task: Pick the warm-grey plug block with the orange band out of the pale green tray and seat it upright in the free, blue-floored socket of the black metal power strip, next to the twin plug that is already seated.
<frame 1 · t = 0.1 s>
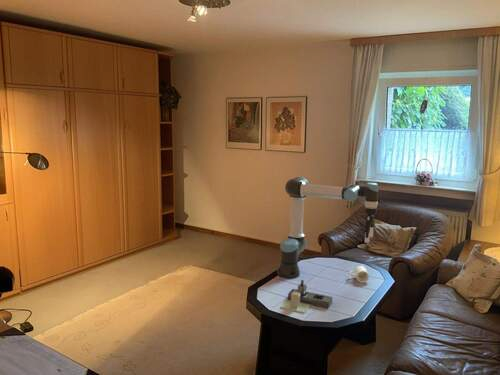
hand: (368, 239, 261), 28 cm above the table, fingers open, 13 cm apart
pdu: (309, 301, 234), on the table
plug: (295, 306, 226), resting on tray
tray: (295, 307, 226), on the table
mug: (357, 279, 268), on the table
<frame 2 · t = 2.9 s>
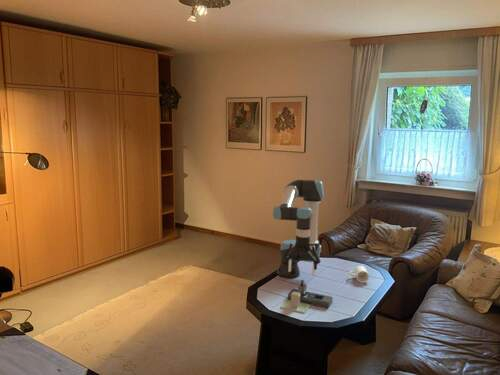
hand: (301, 273, 225), 20 cm above the table, fingers open, 13 cm apart
nothing on the table moved.
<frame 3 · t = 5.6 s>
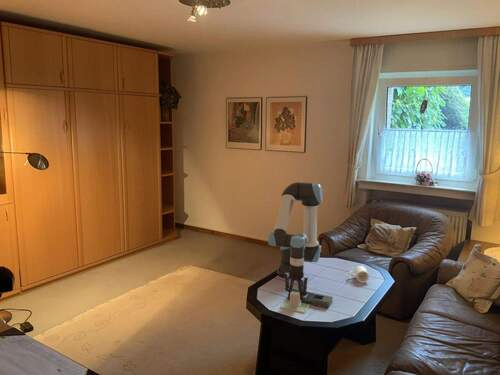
hand: (295, 304, 226), 2 cm above the table, fingers closed on plug, 4 cm apart
plug: (295, 306, 226), resting on tray, touching gripper
everything else where it was.
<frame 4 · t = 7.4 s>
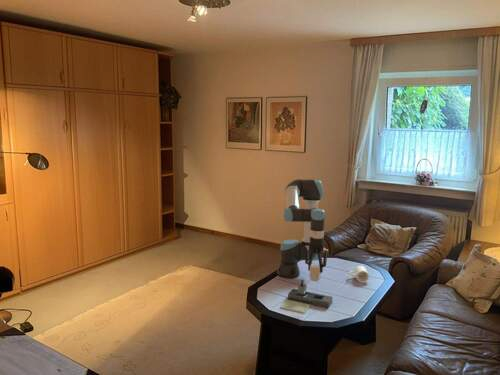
hand: (315, 276, 228), 16 cm above the table, fingers closed on plug, 4 cm apart
plug: (314, 279, 229), point 15 cm above the table, touching gripper
everything else where it was.
when the fingers open (5 cm above the table, at t = 9.3 s): plug drops 2 cm, resting on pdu.
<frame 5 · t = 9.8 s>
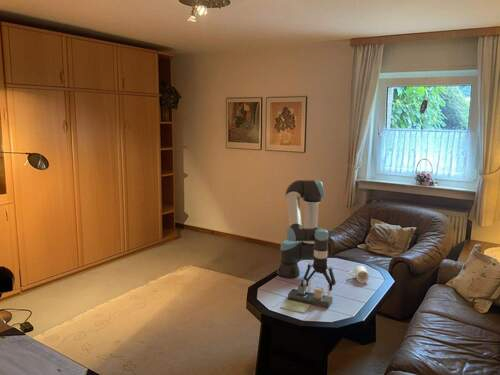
hand: (318, 293, 231), 6 cm above the table, fingers open, 11 cm apart
plug: (318, 301, 232), point 1 cm above the table, touching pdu
everything else where it was.
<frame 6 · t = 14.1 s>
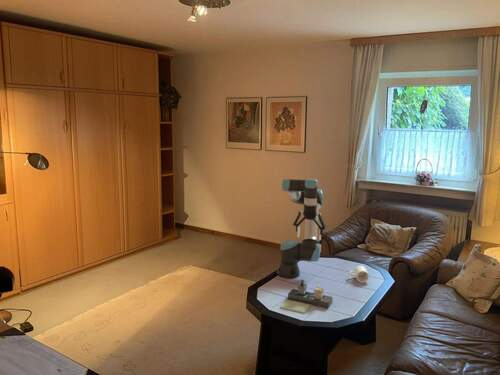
hand: (308, 238, 249), 32 cm above the table, fingers open, 13 cm apart
nothing on the table moved.
at the end: plug 0.0 cm from the target spot on the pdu, point 1.1 cm above the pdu's base; plug tilted 0°; the gripper is holding nothing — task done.
